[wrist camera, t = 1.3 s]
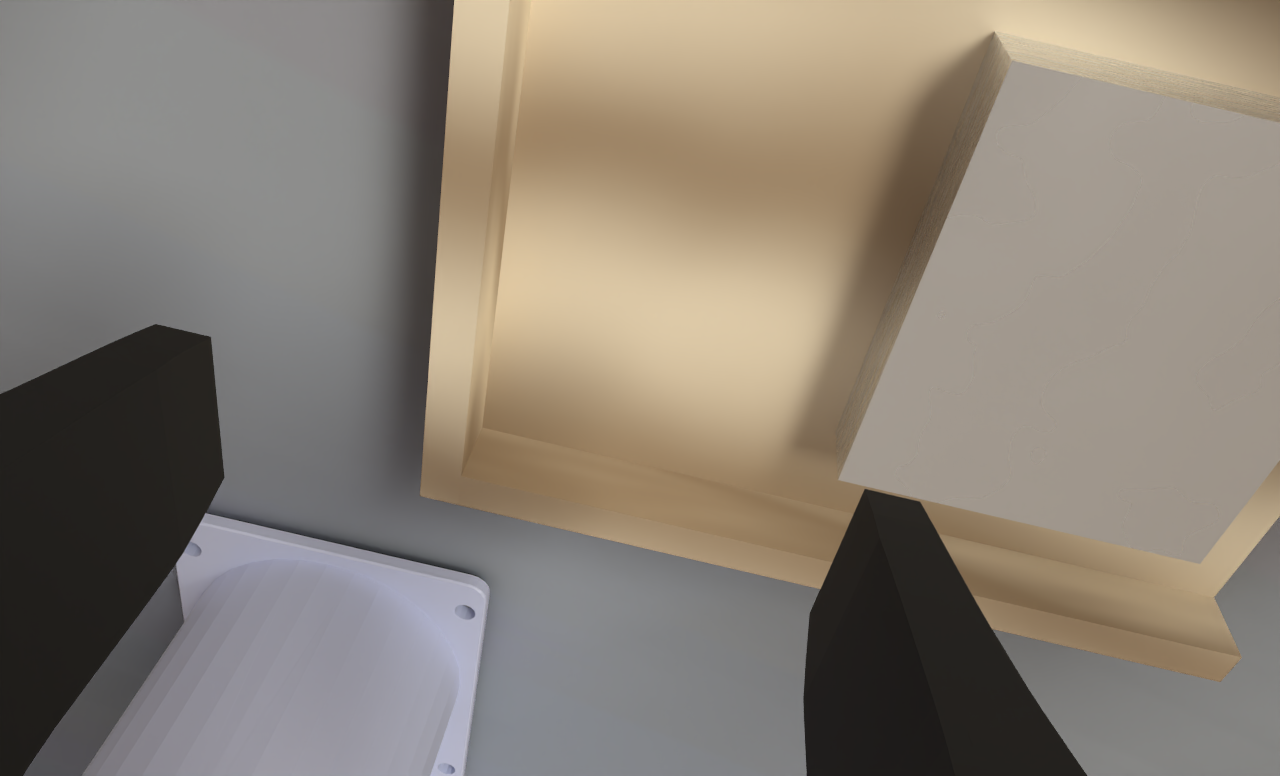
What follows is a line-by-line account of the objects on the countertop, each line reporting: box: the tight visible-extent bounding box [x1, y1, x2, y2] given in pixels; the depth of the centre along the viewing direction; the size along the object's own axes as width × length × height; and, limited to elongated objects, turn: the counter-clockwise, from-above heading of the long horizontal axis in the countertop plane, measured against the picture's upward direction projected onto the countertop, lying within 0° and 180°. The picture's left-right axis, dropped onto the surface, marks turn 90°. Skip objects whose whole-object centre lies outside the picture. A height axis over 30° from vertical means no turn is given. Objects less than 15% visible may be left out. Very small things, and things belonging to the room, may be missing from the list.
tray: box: [420, 0, 1280, 682], centre depth 17 cm, size 14×17×2 cm
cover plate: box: [835, 31, 1280, 564], centre depth 16 cm, size 8×7×2 cm
